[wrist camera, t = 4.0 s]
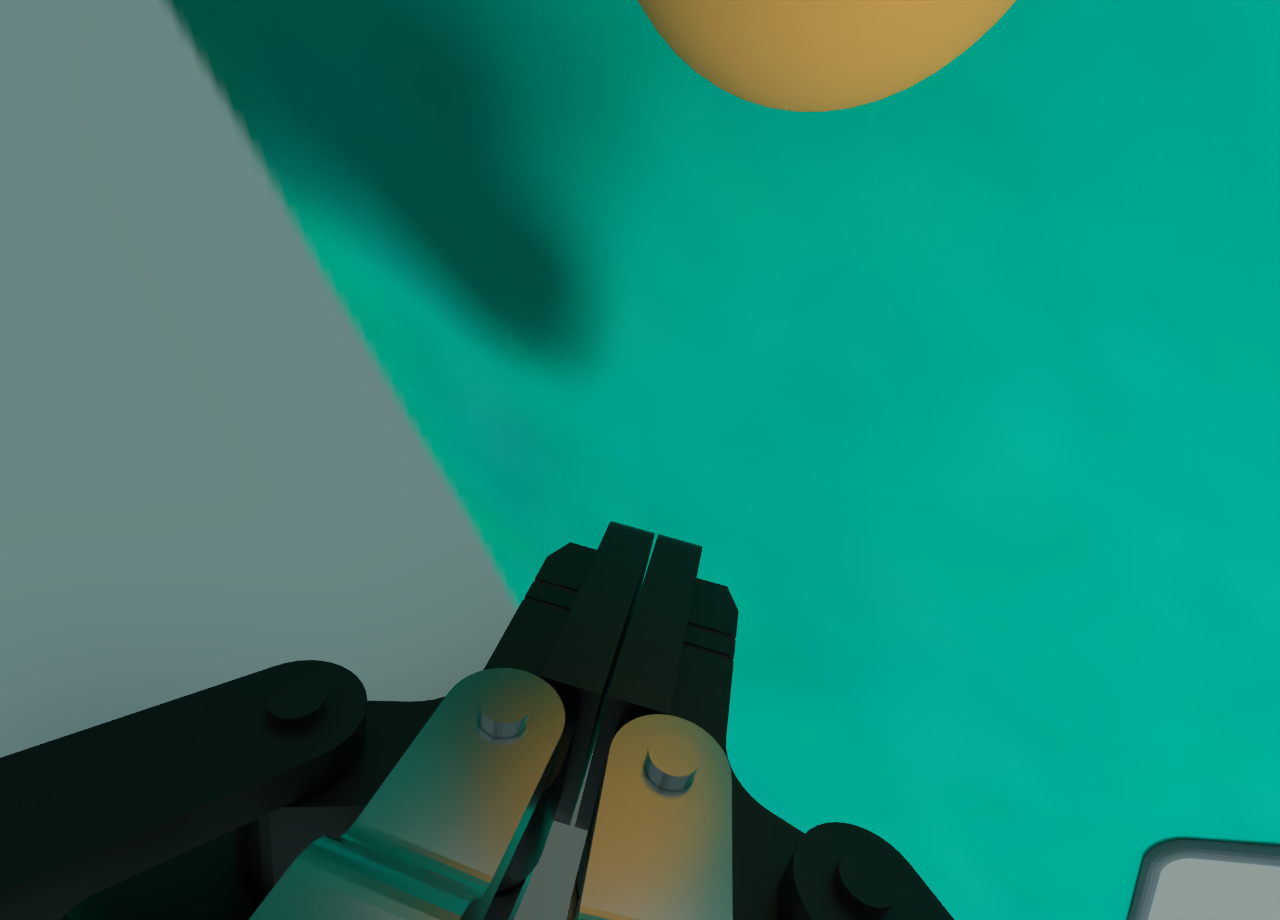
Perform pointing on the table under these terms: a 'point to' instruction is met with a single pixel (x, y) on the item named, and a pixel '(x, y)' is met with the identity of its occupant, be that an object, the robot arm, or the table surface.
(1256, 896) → the smartphone
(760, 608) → the table surface
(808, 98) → the ball
